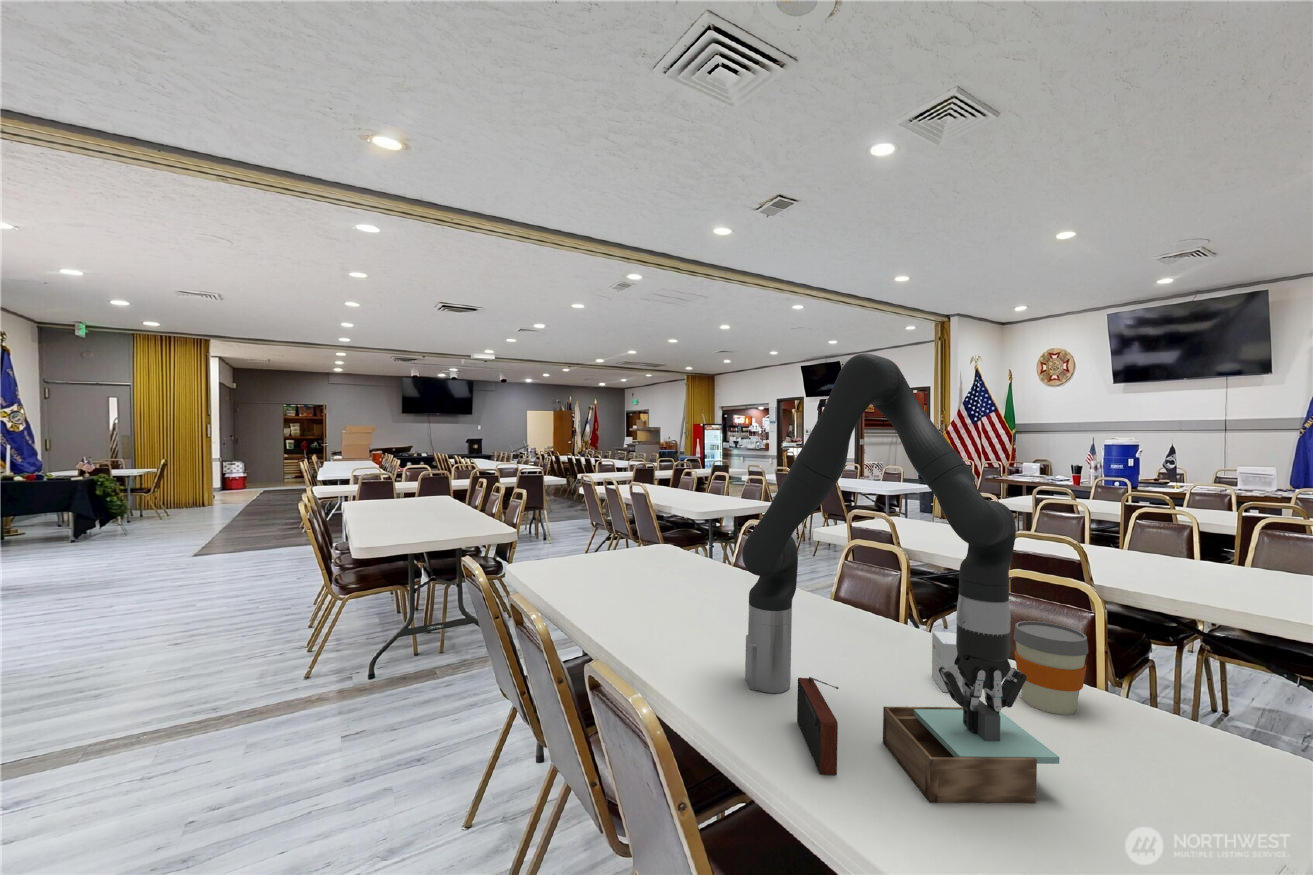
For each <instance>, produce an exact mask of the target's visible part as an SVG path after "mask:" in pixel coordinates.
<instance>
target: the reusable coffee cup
mask: <svg viewBox="0 0 1313 875" xmlns="http://www.w3.org/2000/svg"><path fill="white" fill-rule="evenodd" d="M1013 640H1014V641H1015V646H1016V647H1015V648H1016V649H1015V650H1014V656H1015V658H1014V659H1015V665H1016V669H1017V670H1019V671H1021V672H1022V673H1023V674H1025V675H1026V677H1027V678H1026V681H1025V683H1024V684H1023V686H1022V688H1021V695H1022V700H1023V701H1024V702H1025V703H1026V704H1027V705H1029V706H1031V707H1033V708H1034V709H1037V710H1040V711H1043V712H1047V713H1050V714H1055V715H1064V716H1065V715H1067V716H1069V715H1072V714H1075V713H1076V712H1077V706H1078V701H1079V696H1080V690H1082V689H1083V688H1084V684H1085V678H1086V672H1087V668H1088V667H1087V663H1085V662H1086V658H1087V655H1088V654H1089V643H1088V637H1087V635H1086V634H1085V633H1083V632H1081V631H1079V630H1077V629H1075V628H1072V627H1069V626H1064V625H1060V624H1055V623H1052V622H1045V621H1037V620H1023V621H1019V622H1016V623H1015V626H1014V634H1013Z"/></svg>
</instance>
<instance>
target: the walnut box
mask: <svg viewBox="0 0 1313 875" xmlns="http://www.w3.org/2000/svg"><path fill="white" fill-rule="evenodd" d="M914 709H955V710H963V707H961V706H883V711H882V713H883V714H882V717H883V718H882V744H883V746H884V747H885V748H886V749H887V750H888V752H889V753H890V754H891V756H893V758H894V759H895V760H896V761H897V763H898V764H899V766H900V767H901V768H902V770H904V772H905V773H906V775H907V776H908V777H909V779H911V781H912V782H913V783H914V785H916V787H917V788H918V790H919V791H920V792H921V793H922V794H923V796H924V797H925V799H926V800H927V801H928V803H935V804H936V803H938V804H939V803H941V804H943V803H945V804H946V803H949V804H951V803H952V804H953V803H955V804H956V803H964V804H965V803H974V804H976V803H977V804H979V803H981V804H983V803H984V804H985V803H988V804H989V803H990V804H993V803H994V804H996V803H999V804H1003V803H1004V804H1013V803H1015V804H1016V803H1018V804H1021V803H1022V804H1028V803H1029V804H1036V803H1037V777H1038V776H1037V775H1038V774H1037V773H1038V771H1037V770H1038V769H1037V768H1038V766H1037V759H1035V758H982V757H954V756H953V755H952V754H951V753H950V752H949V751H948V750H947V749H946V748H945V747H944V746H943V745H942V744H941V743H940V742H939V741H938V740H937V739H936V738H935V737H934V736H933V734H932V733H931V732H930V731H929V730H928V729H927V728H926V727H925V726H924V725H923V724H922V723H921V722H920V721H919V720H918V719H917V718H916V717H915V716H914Z"/></svg>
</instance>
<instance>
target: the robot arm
mask: <svg viewBox="0 0 1313 875" xmlns="http://www.w3.org/2000/svg"><path fill="white" fill-rule="evenodd" d="M912 390H913V389H912V388H911V387H910V384H909V383H908V381H907V379H906V378H905V376H904V374H903V372H902V371H901V369H900V367H899V366H898V364H896V363H895V362H894V361H892V360H891V359H889V358H886V357H883V356H881V355H880V356H879V355H877V354H872V353H866V352H865V353H859V354H855V355H854V356H852V357H850V358H849V359H848V360H847V361H846V362H845V363H844V364H843V366H842V367H841V369H840V371H839V373H838V375H837V377H836V380H835V382H834V384H833V386H832V388H831V391H830V394H829V396H828V398H827V400H826V403H825V405H824V407H823V409H822V411H821V413H820V415H819V417H818V419H817V421H816V422H815V424H814V426H813V428H812V430H811V431H810V432H809V434H808V437H807V439H806V440H805V443H804V445H803V446H802V448H801V449H800V451H799V453H798V454H797V455H796V458H794V461H793V463H792V465H791V466H790V468H789V470H788V473H787V474H786V475H785V478H784V479H783V482H782V483H781V485H780V487H779V488H778V490H777V492H776V494H775V495H774V497H773V500H772V502H771V503H770V505H769V506H768V508H767V510H766V511H765V513H764V514H763V516H762V517H761V518H760V519H759V521H758V523H757V524H756V525H755V527H754V528H753V529H752V531H751V532H750V533H749V535H748V537H747V538H746V540H745V542H744V544H743V548H742V552H741V553H742V554H741V556H742V562H743V564H744V567H745V569H746V571H748V572H749V573H750V574H752V575H755V576H757V577H758V579H757V581H756V582H755V584H754V585H753V586H752V587H751V588H750V589H749V591H748V592H749V593H748V619H747V620H748V624H747V625H748V627H747V629H748V630H747V634H746V635H745V670H744V671H745V672H744V676H745V677H744V678H745V681H746V683H747V685H748V688H749V689H750V690H755V691H758V692H763V693H769V694H777V693H784V692H787V691H788V690H790V688H791V679H792V674H791V672H792V670H791V668H792V666H791V665H792V625H793V624H792V623H793V622H792V621H793V620H792V619H793V599H794V596H795V593H796V591H797V584H798V583H797V582H798V569H799V567H798V566H799V551H798V546H797V544H796V541H795V539H794V537H793V536H792V535H793V534H794V533H795V531H796V530H797V529H798V527H799V526H800V525H801V524H802V523H803V522H804V521H805V520H806V519H807V518H808V517H809V516H811V515H812V514H813V513H814V511H816V510H817V509H818V508H819V507H820V506H821V505H822V504H823V503H824V502H825V501H826V500H827V498H828V497H829V495H830V494H831V493H832V491H833V490H834V488H835V487H836V485H837V483H838V481H839V479H840V478H841V476H842V474H843V472H844V470H845V469H846V468H845V467H846V464H847V460H848V454H849V448H850V442H851V438H852V434H853V433H854V430H855V428H856V425H857V424H858V423H859V422H860V420H861V418H862V416H863V415H864V413H865V412H866V410H868V408H869V406H870V405H871V406H873V407H874V408H875V409H876V410H877V411H879V412H880V413H881V414H882V415H883V416H884V417H885V419H887V421H888V422H889V423H890V424H891V426H892V428H894V430H895V432H896V433H897V435H898V437H899V439H900V442H901V443H902V444H901V445H902V447H903V449H904V451H905V454H906V456H907V458H908V460H909V462H910V463H911V465H912V467H913V468H914V470H915V471H916V472H917V474H919V477H920V478H921V479H922V480H923V482H924V483H925V484H926V486H927V487H928V488H929V490H930V491H931V492H932V493H933V494H934V495H935V498H936V499H937V502H938V505H939V507H940V509H941V511H942V513H943V515H944V516H945V519H946V520H947V523H949V526H950V527H951V529H952V530H953V531H954V533H955V534H956V535H957V536H958V537H959V538H960V539H961V540H962V541H964V542H965V543H966V544H968V546H967V552H966V556H965V558H964V559H963V560H962V561H961V563H960V566H959V574H958V599H957V603H956V617H955V618H956V632H955V633H956V648H957V657H956V659H955V661H954V665H952V666H950V667H948V668H944V667H940V668H939V673H940V675H941V677H942V679H943V681H944V684H945V686H946V688H947V690H948V692H947V693H948V694H949V695H950V698H951V699H952V700H953V701H954V702H955V703H956V704H958V705H959V707H963V723H964V725H965V726H966V727H967V729H968V730H969V731H970V732H971V733H978V711H977V709H978V702H979V699H981V698H982V697H983V696H982V695H983V694H984V702H985V704H986V705H987V706H988V707H990V708H991V709H992V710H994V711H995V712H996V713H997V714H999V712H1000V711H1001V710H1003V709H1004V708H1008V709H1011V708H1012V707H1013V706H1014V703H1015V702H1016V700H1017V698H1018V696H1019V694H1020V693H1021V691H1022V689H1021V688H1022V686H1023V684H1024V683H1025V681H1026V678H1027V677H1026V675H1025V674H1023V673H1022V672H1021V671H1019V670H1017V668H1015V667H1012V666H1011V663H1010V662H1009V658H1010V657H1011V619H1012V618H1011V617H1012V616H1011V608H1010V574H1009V573H1010V566H1011V563H1012V559H1013V553H1014V549H1015V543H1016V542H1015V541H1016V536H1017V526H1016V520H1015V516H1014V514H1013V513H1012V511H1011V509H1010V508H1009V507H1008V506H1007V505H1005V504H1004V503H1002V502H999V501H996V500H991V499H990V500H985V497H983V495H982V493H981V492H980V491H979V489H978V487H977V486H976V485H975V481H976V477H975V475H974V473H973V471H972V469H971V468H970V466H969V465H968V464H967V463H966V462H965V461H964V459H963V458H962V456H961V455H960V454H959V453H958V452H957V451H956V450H955V448H954V447H953V446H952V445H951V443H949V441H948V440H947V439H946V437H945V436H944V435H943V434H942V432H941V431H940V430H939V429H938V428H937V426H936V425H935V423H934V422H933V421H932V420H931V418H930V417H929V416H928V414H927V413H926V411H925V410H924V408H923V407H922V405H921V404H920V402H919V401H918V399H917V397H916V396H915V394H914V392H913V391H912ZM958 673H960V675H961V676H962V677H963V681H962V688H963V694H962V692H961V689H960V687H959V685H958V683H957V682H958V681H959V679H958ZM983 691H984V693H982V692H983ZM1001 712H1002V711H1001Z"/></svg>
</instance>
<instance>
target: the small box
mask: <svg viewBox="0 0 1313 875" xmlns="http://www.w3.org/2000/svg"><path fill="white" fill-rule="evenodd" d="M931 634H932V635H931V637H932V638H931V645H932V646H931V653H932V654H931V677H932V679H933V681H934V682H935V683H936V684H937V685H938V687H939V689H940V690H941V692H943V693H949V692H948V690H947V688H946V686H945V684H944V681H943V679H942V677H941V675H940V673H939V668H940V667H944V668H948V667H950V666H952V665H954V661H955V659H956V657H957V648H956V632H948V631H947V632H946V631H935V630H933V631H932V633H931ZM958 679H959V681H958V682H957V683H958V685H959V687H960V689H961V692H962V694H963V688H962V681H963V677H962V676H961V675H960V673H958Z"/></svg>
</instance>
